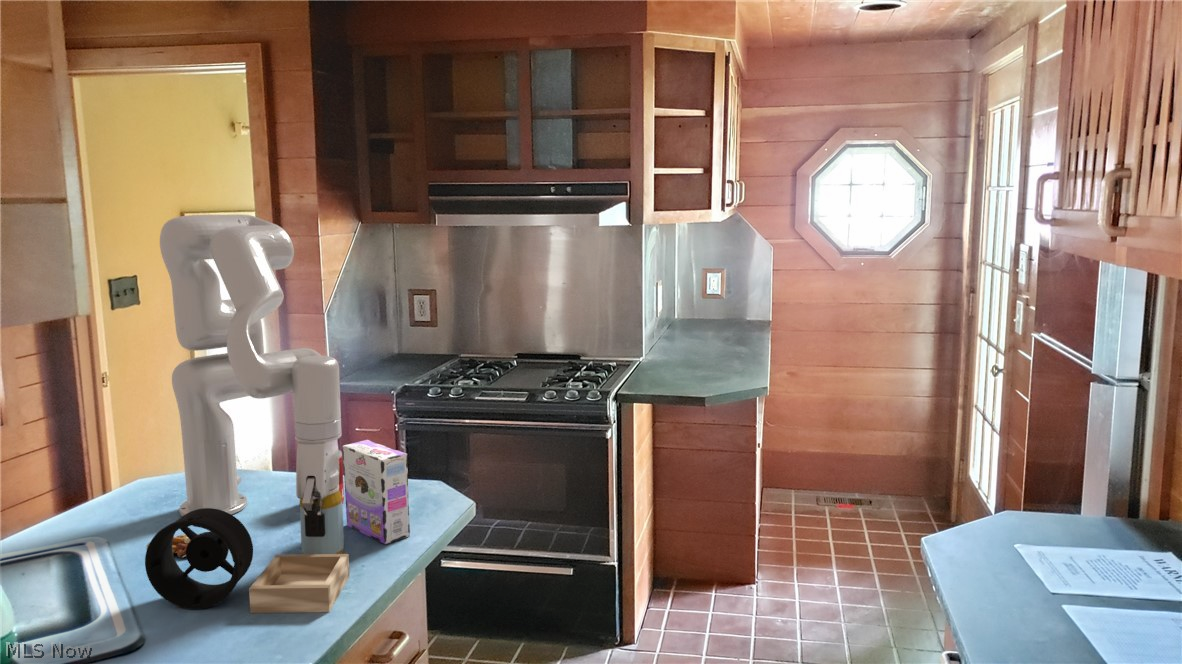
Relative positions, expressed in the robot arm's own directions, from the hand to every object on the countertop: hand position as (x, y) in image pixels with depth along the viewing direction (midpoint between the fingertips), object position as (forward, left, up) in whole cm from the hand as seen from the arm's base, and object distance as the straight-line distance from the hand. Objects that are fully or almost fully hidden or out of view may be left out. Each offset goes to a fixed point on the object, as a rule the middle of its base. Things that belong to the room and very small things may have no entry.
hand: (322, 525), depth 142 cm
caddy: (+12, 0, -7) cm, 14 cm away
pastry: (-6, -28, -7) cm, 30 cm away
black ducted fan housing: (+12, -15, -7) cm, 20 cm away
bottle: (0, 0, -6) cm, 6 cm away
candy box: (-13, +6, -7) cm, 16 cm away
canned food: (-27, -8, -7) cm, 29 cm away
